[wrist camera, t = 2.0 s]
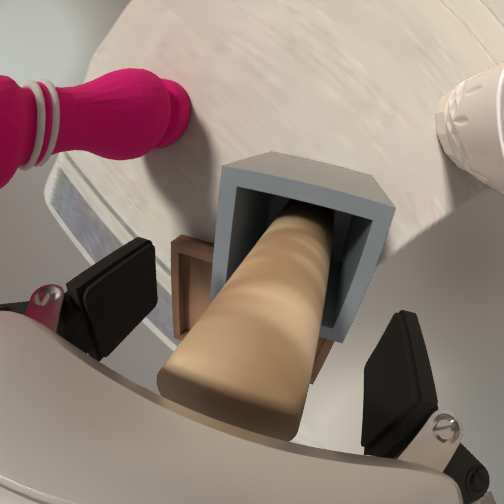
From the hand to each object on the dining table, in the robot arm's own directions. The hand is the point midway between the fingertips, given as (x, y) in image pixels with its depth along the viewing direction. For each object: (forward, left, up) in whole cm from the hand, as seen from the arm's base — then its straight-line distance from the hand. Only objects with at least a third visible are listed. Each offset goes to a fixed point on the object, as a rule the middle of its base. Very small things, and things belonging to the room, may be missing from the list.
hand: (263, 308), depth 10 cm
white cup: (-11, -10, -13) cm, 20 cm away
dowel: (0, 0, -11) cm, 11 cm away
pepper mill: (+14, -6, -13) cm, 20 cm away
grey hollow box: (0, 0, -12) cm, 12 cm away
